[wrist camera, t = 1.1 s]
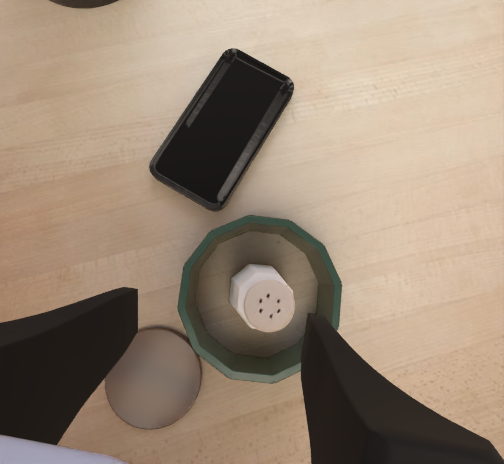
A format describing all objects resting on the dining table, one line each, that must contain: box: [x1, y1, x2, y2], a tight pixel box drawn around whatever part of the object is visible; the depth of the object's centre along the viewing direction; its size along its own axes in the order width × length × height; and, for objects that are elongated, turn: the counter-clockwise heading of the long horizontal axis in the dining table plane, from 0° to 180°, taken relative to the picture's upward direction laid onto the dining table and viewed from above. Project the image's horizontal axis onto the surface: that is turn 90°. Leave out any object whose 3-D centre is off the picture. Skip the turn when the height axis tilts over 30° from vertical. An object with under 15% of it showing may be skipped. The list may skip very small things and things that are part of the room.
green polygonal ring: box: [178, 215, 342, 384], centre depth 24 cm, size 12×12×4 cm
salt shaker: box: [229, 264, 295, 332], centre depth 21 cm, size 5×5×11 cm
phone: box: [149, 48, 294, 211], centre depth 28 cm, size 8×1×15 cm
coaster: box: [105, 328, 202, 429], centre depth 25 cm, size 8×8×1 cm
